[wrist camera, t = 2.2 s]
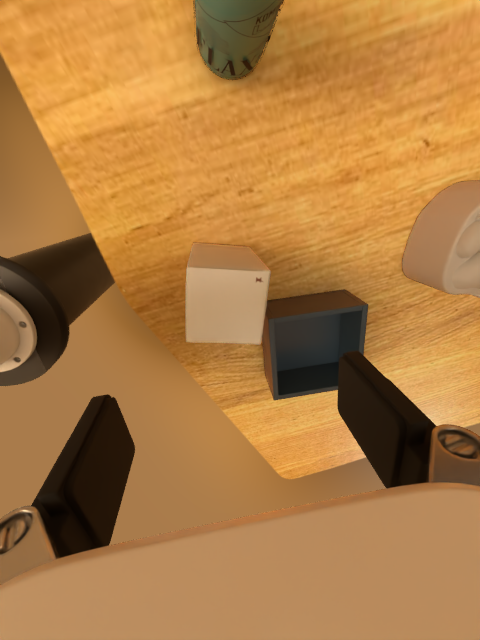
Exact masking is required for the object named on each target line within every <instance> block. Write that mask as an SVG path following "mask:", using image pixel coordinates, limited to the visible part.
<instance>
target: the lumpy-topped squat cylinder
mask: <svg viewBox="0 0 480 640" xmlns="http://www.w3.org/2000/svg"><path fill="white" fill-rule="evenodd" d="M402 269H403V272H404V274H405V276H406V277H408V278H410V279H413V280H415V281H418V282H420V283H423V284H425V285H428V286H430V287H433V288H435V289H438V290H441V291H444V292H446V293H448V294H454V295H459V294H470V295H473V296H476V297H479V298H480V180H475V181H461V182H458V183H455V184H453V185H451V186H449V187H447V188H446V189H444V190H443V191H441V192H440V193H439V194H438V195H437V196H435V197H434V198H433V199H432V200H431V201H430V203H429V204H428V205H427V206H426V207H425V208H424V209H423V210H422V212H421V213H420V214H419V216H418V218H417V220H416V222H415V224H414V226H413V229H412V231H411V234H410V236H409V239H408V242H407V245H406V248H405V251H404V255H403V259H402Z"/></svg>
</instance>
